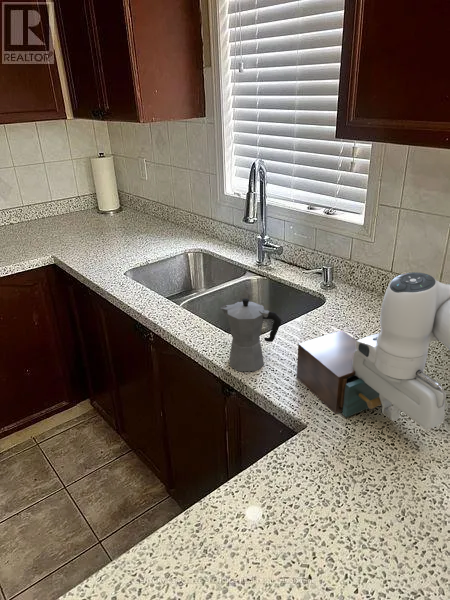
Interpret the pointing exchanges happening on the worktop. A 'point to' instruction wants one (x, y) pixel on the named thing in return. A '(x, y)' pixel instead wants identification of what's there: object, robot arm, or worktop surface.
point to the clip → (352, 378)
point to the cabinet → (326, 366)
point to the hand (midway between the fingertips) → (390, 416)
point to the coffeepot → (248, 333)
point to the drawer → (357, 397)
